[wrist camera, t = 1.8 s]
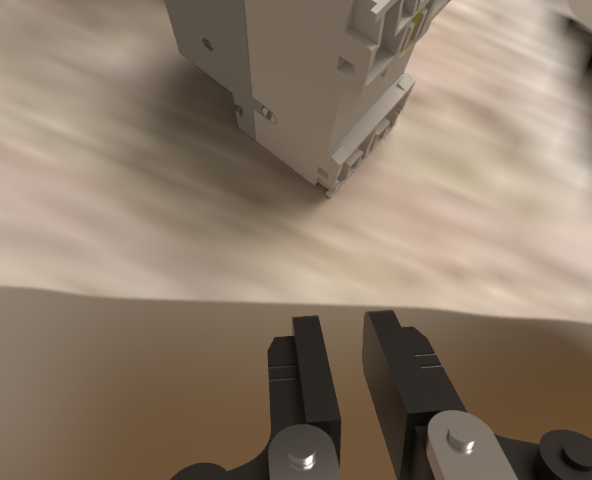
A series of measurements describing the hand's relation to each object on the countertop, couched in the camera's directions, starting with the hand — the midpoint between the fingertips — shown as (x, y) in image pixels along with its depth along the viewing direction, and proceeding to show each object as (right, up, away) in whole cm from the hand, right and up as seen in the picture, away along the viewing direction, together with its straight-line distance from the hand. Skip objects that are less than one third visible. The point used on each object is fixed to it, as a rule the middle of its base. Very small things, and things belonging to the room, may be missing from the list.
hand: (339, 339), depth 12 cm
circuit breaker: (-2, +13, +19) cm, 23 cm away
